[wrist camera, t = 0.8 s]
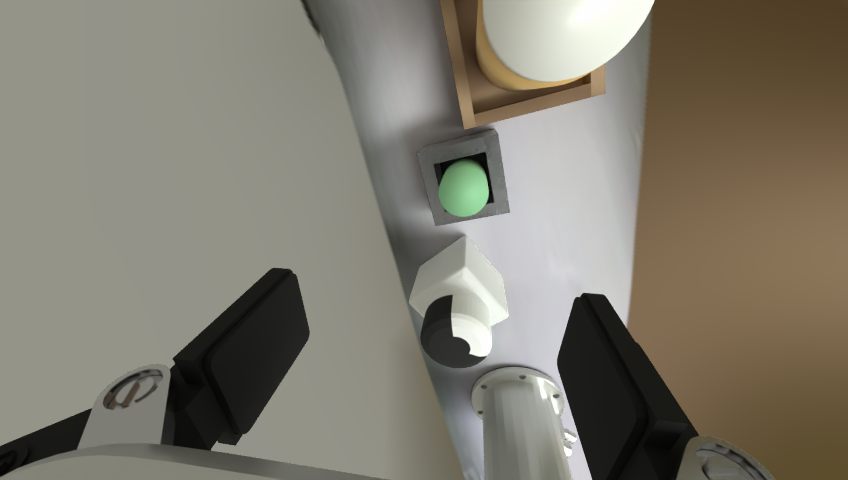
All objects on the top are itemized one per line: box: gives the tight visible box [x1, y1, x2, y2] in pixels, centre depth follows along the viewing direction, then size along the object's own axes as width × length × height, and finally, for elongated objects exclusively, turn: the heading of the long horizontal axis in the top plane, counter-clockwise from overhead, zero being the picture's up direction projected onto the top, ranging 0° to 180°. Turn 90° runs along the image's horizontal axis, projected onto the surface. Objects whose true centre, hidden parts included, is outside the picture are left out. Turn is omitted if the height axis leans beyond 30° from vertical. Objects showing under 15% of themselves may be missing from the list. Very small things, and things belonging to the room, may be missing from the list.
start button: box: [438, 159, 489, 217], centre depth 26 cm, size 4×4×4 cm
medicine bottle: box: [409, 235, 509, 368], centre depth 30 cm, size 7×7×12 cm
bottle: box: [476, 0, 655, 91], centre depth 18 cm, size 7×7×14 cm
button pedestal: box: [417, 129, 510, 226], centre depth 28 cm, size 7×7×4 cm
